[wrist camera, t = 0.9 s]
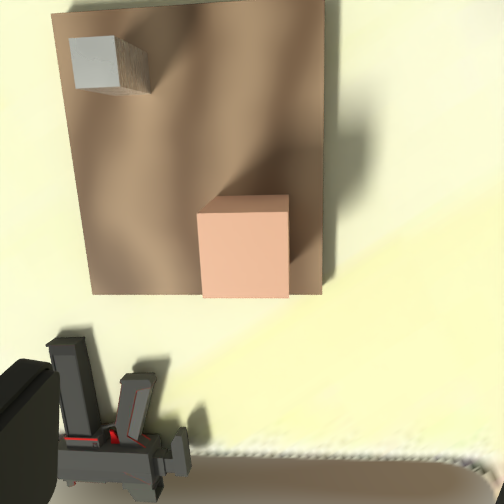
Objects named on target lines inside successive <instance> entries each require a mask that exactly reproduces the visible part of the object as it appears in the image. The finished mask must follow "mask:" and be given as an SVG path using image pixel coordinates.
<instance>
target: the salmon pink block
mask: <svg viewBox="0 0 504 504" xmlns="http://www.w3.org/2000/svg"><path fill="white" fill-rule="evenodd" d="M197 226H198V240H199V253H200V267H201V281H202V294H203V298H289V270H290V257H289V194H287V195H244V196H216V197H215V198H214V199H212V200H211V201H210V202H209V203H208V204H207V205H206V206H205V207H203V208H202V209H201V210H200V211H199V212H198V213H197Z"/></svg>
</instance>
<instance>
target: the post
mask: <svg viewBox="0 0 504 504" xmlns="http://www.w3.org/2000/svg"><path fill="white" fill-rule="evenodd" d="M69 45H70V52H71V59H72V66H73V73H74V81H75V88H76V89H80V90H86V91H91V92H97V93H102V94H107V95H113V96H121V95H142V94H151V89H150V78H149V68H148V57H147V52H145V51H143V50H141V49H139V48H137V47H135V46H133V45H131V44H129V43H128V42H126V41H124V40H122V39H120V38H118V37H116V36H114V35H113V36H97V37H81V38H69Z"/></svg>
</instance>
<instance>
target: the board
mask: <svg viewBox="0 0 504 504" xmlns="http://www.w3.org/2000/svg"><path fill="white" fill-rule="evenodd" d="M51 18H52V25H53V32H54V39H55V45H56V52H57V59H58V65H59V72H60V79H61V86H62V92H63V99H64V106H65V112H66V119H67V126H68V133H69V139H70V146H71V153H72V160H73V166H74V173H75V180H76V186H77V193H78V200H79V207H80V213H81V220H82V227H83V233H84V240H85V247H86V254H87V260H88V267H89V274H90V281H91V287H92V294H93V295H203V294H202V281H201V267H200V253H199V240H198V226H197V213H198V212H199V211H200V210H201V209H202V208H203V207H205V206H206V205H207V204H208V203H209V202H210V201H211V200H212V199H214V198H215V197H216V196H244V195H287V194H289V257H290V270H289V295H322V247H323V138H324V29H325V0H245V1H231V2H216V3H201V4H186V5H172V6H157V7H142V8H128V9H113V10H98V11H83V12H69V13H54V14H51ZM113 35H114V36H116V37H118V38H120V39H122V40H124V41H126V42H128V43H129V44H131V45H133V46H135V47H137V48H139V49H141V50H143V51H145V52H147V57H148V68H149V78H150V89H151V94H142V95H121V96H113V95H107V94H102V93H97V92H91V91H86V90H80V89H76V88H75V81H74V73H73V66H72V59H71V52H70V45H69V38H81V37H97V36H113Z"/></svg>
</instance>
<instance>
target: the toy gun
mask: <svg viewBox="0 0 504 504" xmlns="http://www.w3.org/2000/svg"><path fill="white" fill-rule="evenodd" d="M46 347H49V353H50V358H51V363H52V367H53V371H57V372H59V374H60V402H59V403H60V408H61V413H62V418H63V423H64V428H65V432H66V434H65V435H64V436H63V437H62V438H61V440H60V441H59V442H58V473H57V478H58V479H63V481H66V482H67V486H68V487H71V486H74V485H75V484H76V483H75V482H92V483H106V482H118V483H122V486H123V489H127V490H128V492H129V493H130V495H131V496H132V497H133V499H134V500H135V501H140V502H154V503H156V502H157V500H158V498H159V496H160V494H161V492H162V490H163V488H164V484H163V478H162V476H166V474H167V472H171V473H175V476H185V477H187V476H188V474H189V472H190V469H191V467H192V464H191V458H190V449H189V442H188V435H187V429H186V427H180V428H179V430H178V431H177V433H176V435H175V437H174V439H173V441H172V442H171V449H172V451H168V449H162V448H161V441H160V435H157V434H142V431H143V427H144V423H145V419H146V415H147V411H148V407H149V403H150V399H151V395H152V391H153V387H154V383H155V382H156V375H155V373H126V374H125V375H124V376H123V378H122V379H121V380H120V384H122V385H121V391H120V397H119V403H118V409H117V415H116V421H115V422H114V423H111V424H107V425H102V424H101V422H100V416H99V411H98V405H97V399H96V394H95V388H94V383H93V377H92V372H91V366H90V362H89V357H88V353H87V348H86V344H85V337H68V338H55V339H53V340H52V341H50V342H49V343H47V344H46ZM112 426H115V427H116V429H117V433H116V432H115V431H114V430H112V429H110V431H109V427H112Z"/></svg>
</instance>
